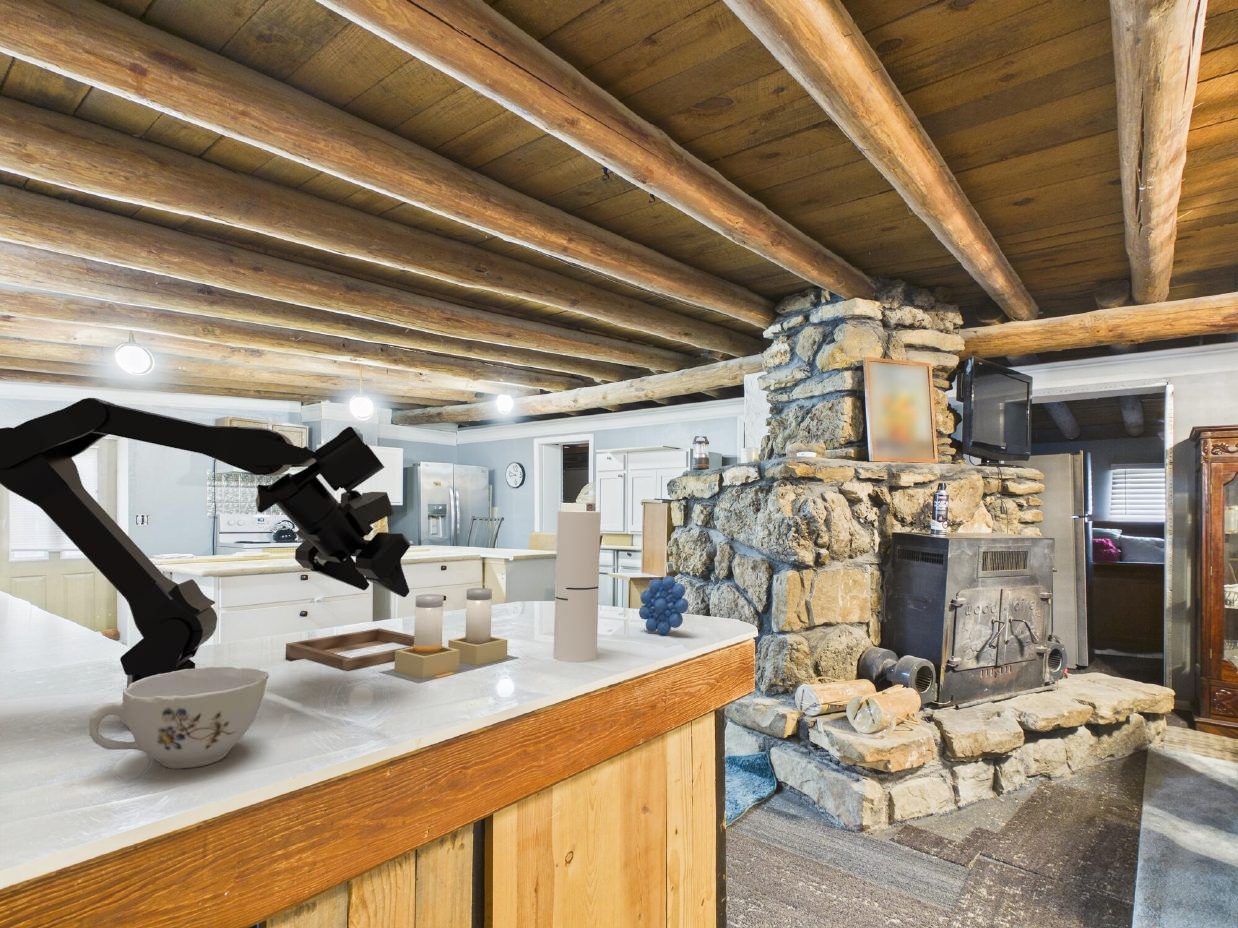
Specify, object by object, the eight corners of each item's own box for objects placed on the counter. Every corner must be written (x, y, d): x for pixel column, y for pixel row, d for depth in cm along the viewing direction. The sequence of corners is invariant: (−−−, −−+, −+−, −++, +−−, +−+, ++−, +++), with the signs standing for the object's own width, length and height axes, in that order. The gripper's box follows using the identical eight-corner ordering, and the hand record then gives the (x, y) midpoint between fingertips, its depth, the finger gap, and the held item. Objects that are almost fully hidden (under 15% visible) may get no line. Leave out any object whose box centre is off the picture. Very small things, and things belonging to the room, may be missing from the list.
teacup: (245, 728, 78) (249, 657, 78) (280, 761, 69) (284, 681, 69) (78, 760, 68) (83, 679, 68) (93, 804, 58) (99, 709, 59)
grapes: (698, 635, 137) (699, 575, 138) (680, 640, 132) (681, 578, 132) (651, 627, 144) (652, 571, 145) (632, 632, 139) (633, 573, 139)
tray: (347, 677, 100) (347, 660, 100) (285, 658, 110) (286, 643, 110) (441, 657, 114) (442, 642, 114) (379, 642, 124) (379, 628, 124)
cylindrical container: (590, 669, 108) (594, 512, 109) (547, 666, 109) (552, 511, 110) (600, 659, 115) (604, 511, 116) (560, 656, 116) (564, 510, 117)
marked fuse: (424, 675, 98) (427, 599, 99) (406, 670, 101) (409, 596, 101) (446, 670, 102) (449, 596, 102) (429, 665, 104) (431, 593, 105)
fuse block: (418, 690, 94) (419, 661, 95) (379, 678, 100) (380, 651, 100) (519, 663, 111) (520, 638, 111) (481, 655, 116) (482, 631, 116)
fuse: (476, 662, 106) (478, 592, 107) (459, 658, 109) (461, 589, 109) (495, 658, 110) (497, 589, 110) (478, 654, 112) (480, 587, 112)
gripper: (401, 470, 87) (463, 553, 95) (319, 470, 98) (382, 544, 106) (341, 533, 80) (414, 616, 88) (261, 526, 91) (333, 600, 99)
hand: (386, 591), depth 96 cm, fingers open, 9 cm apart
